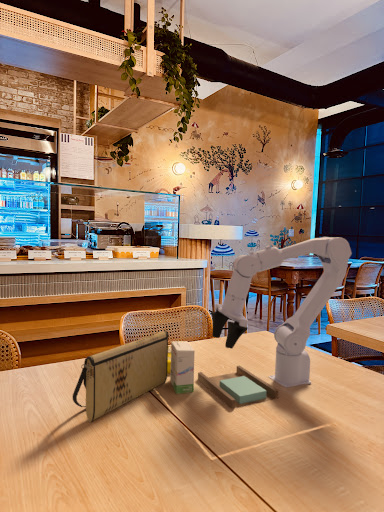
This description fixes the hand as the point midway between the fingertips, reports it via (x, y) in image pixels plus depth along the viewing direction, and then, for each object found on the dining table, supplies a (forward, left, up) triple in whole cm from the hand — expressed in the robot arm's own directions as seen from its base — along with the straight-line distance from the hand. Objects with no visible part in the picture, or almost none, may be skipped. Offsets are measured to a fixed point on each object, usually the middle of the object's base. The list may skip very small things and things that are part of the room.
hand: (221, 342), depth 101 cm
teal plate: (-1, +9, -11) cm, 14 cm away
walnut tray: (-1, +7, -11) cm, 14 cm away
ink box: (+12, -1, -12) cm, 17 cm away
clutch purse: (+28, -1, -12) cm, 30 cm away
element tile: (+12, -19, -12) cm, 25 cm away
